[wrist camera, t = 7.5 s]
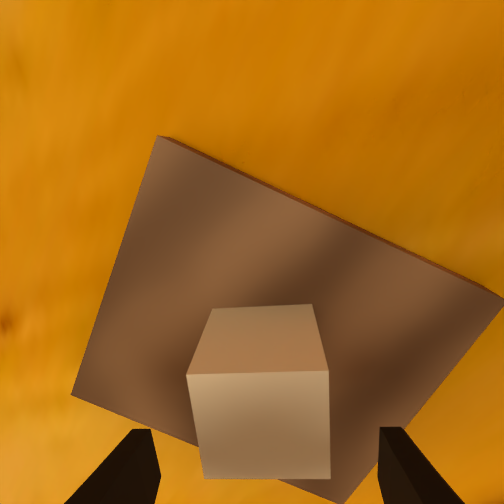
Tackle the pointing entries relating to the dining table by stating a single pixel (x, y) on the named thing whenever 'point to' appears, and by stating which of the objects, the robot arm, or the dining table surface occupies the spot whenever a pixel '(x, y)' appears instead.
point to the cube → (261, 394)
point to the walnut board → (273, 294)
